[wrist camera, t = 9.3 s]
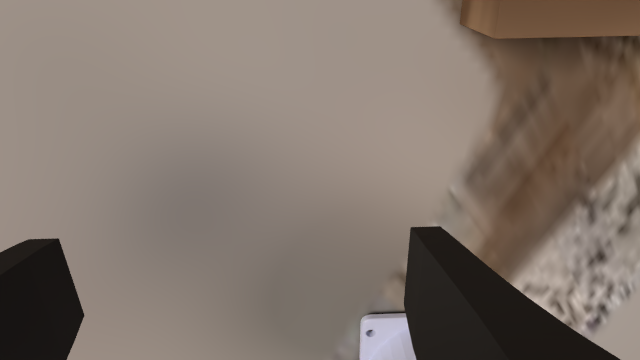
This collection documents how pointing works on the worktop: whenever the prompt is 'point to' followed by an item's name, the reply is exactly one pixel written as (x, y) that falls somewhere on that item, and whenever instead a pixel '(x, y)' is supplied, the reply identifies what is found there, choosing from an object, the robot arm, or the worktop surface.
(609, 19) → the walnut stand
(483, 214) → the worktop surface
